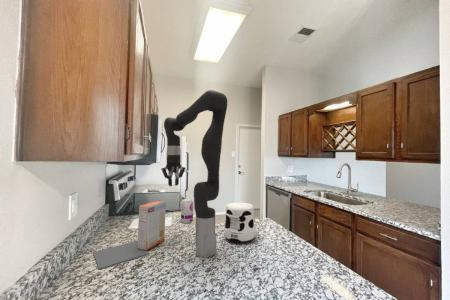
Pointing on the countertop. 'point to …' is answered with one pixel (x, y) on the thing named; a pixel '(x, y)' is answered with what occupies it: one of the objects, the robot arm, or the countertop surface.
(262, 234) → the countertop surface
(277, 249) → the countertop surface
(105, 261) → the mat
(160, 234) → the cracker box
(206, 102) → the robot arm
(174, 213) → the countertop surface
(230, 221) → the milk container
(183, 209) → the supplement can
